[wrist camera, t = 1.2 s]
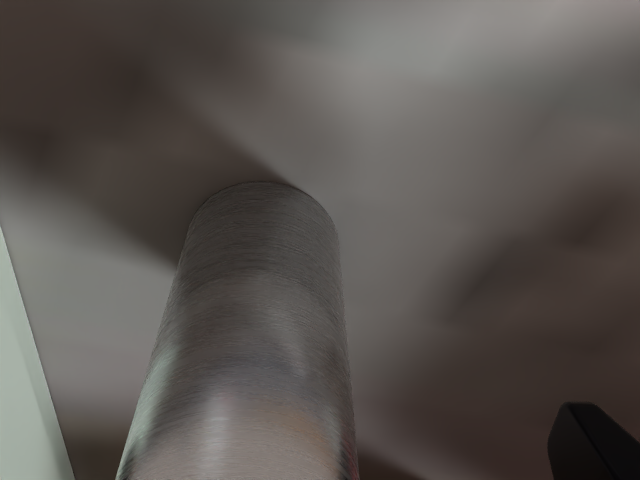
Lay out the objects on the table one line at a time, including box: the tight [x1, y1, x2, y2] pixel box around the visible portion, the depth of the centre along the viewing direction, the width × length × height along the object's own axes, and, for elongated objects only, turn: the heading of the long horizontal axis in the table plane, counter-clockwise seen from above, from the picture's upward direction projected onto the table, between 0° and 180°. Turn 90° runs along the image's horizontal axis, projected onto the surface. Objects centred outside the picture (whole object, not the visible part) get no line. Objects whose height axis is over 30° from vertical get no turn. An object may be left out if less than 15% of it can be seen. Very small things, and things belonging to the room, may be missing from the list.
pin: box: [115, 182, 359, 480], centre depth 9 cm, size 3×3×8 cm
